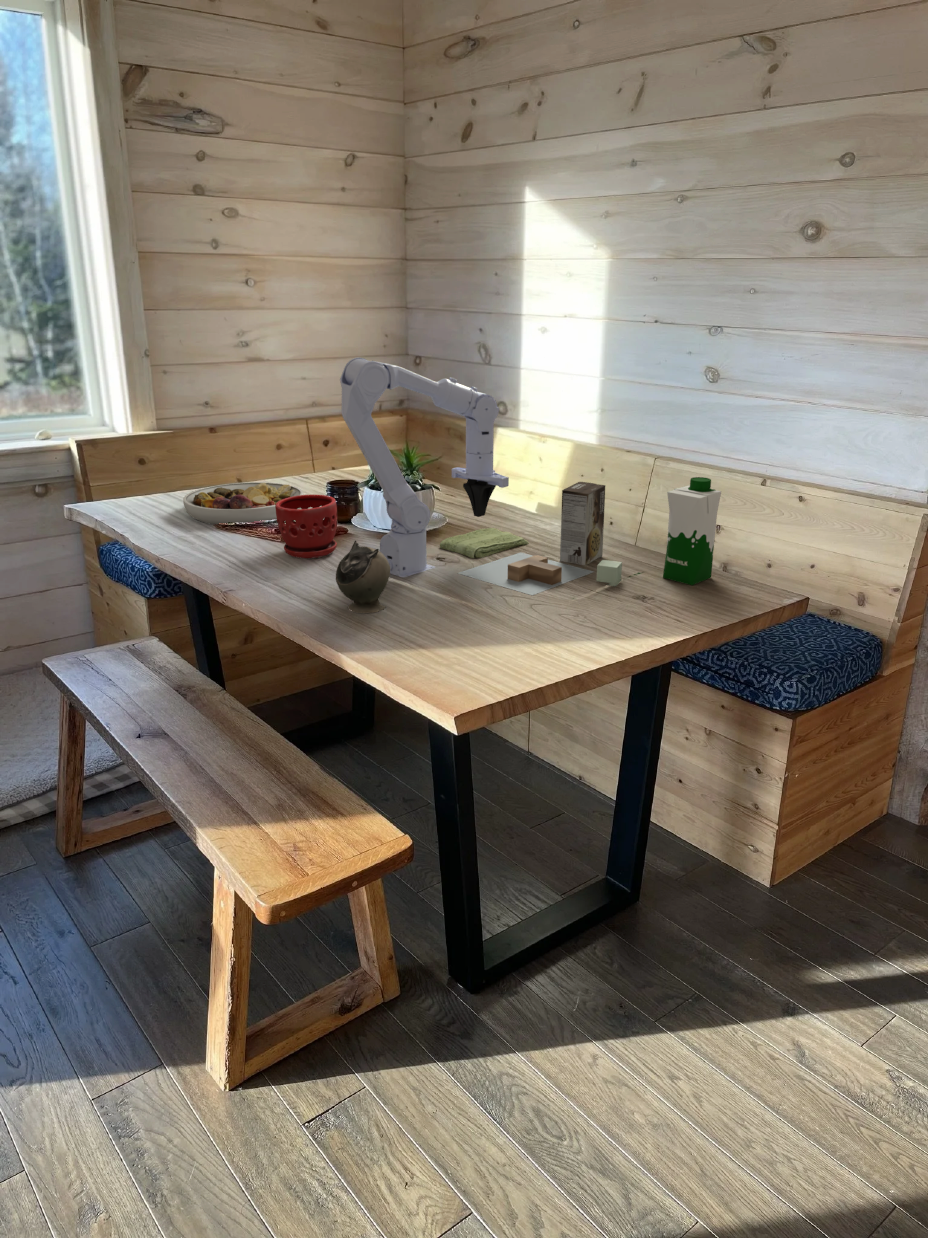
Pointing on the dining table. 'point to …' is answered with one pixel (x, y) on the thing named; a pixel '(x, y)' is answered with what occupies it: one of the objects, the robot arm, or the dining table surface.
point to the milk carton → (691, 531)
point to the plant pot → (307, 525)
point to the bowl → (237, 502)
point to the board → (499, 576)
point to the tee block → (535, 570)
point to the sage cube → (609, 572)
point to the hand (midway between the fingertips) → (479, 515)
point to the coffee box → (582, 523)
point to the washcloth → (482, 542)
